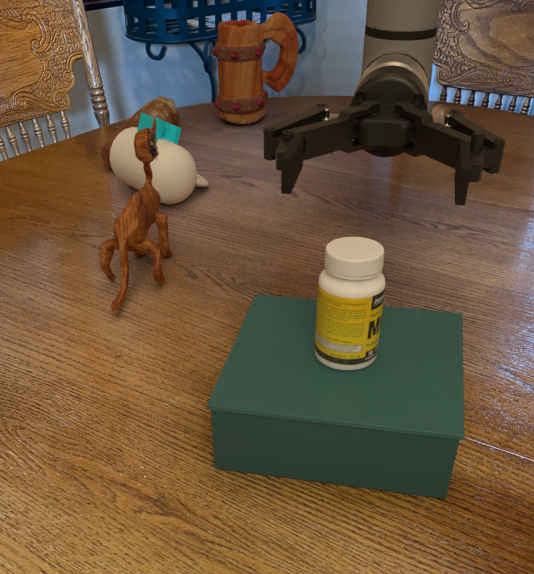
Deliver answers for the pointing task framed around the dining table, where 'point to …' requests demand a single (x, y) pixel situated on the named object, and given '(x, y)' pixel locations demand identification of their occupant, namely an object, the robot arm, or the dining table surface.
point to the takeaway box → (342, 401)
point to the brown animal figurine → (138, 222)
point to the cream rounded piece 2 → (157, 162)
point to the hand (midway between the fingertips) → (372, 182)
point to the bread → (154, 108)
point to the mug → (252, 65)
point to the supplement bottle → (350, 303)
